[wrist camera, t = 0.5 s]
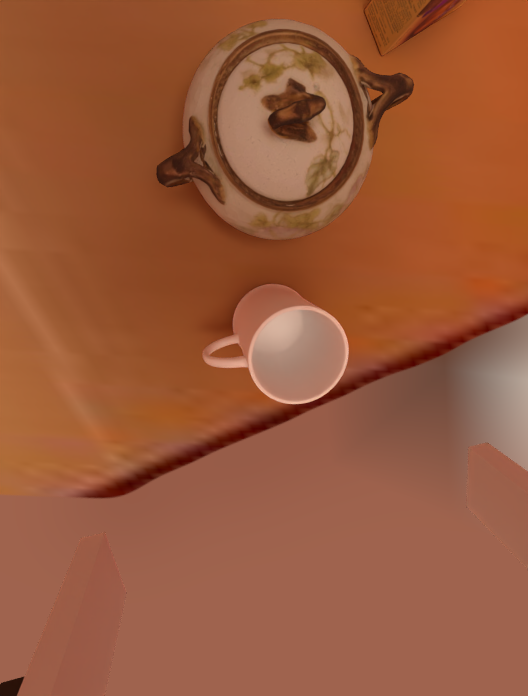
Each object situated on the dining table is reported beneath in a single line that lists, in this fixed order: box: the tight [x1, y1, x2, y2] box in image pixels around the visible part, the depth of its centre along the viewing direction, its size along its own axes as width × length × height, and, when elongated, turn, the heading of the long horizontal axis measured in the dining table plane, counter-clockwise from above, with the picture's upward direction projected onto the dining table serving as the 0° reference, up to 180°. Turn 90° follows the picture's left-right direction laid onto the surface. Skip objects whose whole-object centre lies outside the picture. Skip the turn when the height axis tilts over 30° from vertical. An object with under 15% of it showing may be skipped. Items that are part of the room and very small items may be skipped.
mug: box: [203, 284, 349, 404], centre depth 33 cm, size 12×8×12 cm
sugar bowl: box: [156, 19, 414, 240], centre depth 27 cm, size 20×15×15 cm
